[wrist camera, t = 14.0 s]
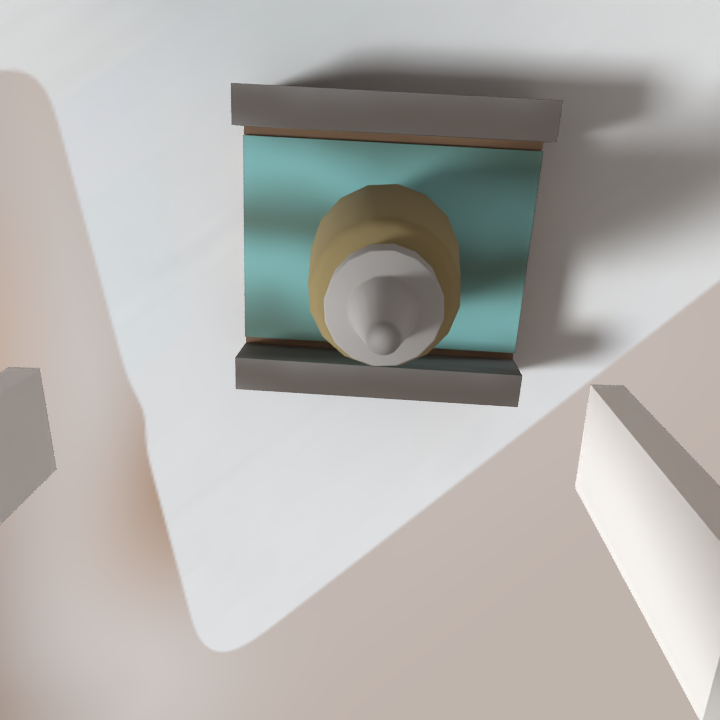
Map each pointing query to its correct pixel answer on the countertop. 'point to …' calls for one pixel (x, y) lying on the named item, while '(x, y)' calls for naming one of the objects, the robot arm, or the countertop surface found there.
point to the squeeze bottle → (384, 275)
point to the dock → (379, 167)
